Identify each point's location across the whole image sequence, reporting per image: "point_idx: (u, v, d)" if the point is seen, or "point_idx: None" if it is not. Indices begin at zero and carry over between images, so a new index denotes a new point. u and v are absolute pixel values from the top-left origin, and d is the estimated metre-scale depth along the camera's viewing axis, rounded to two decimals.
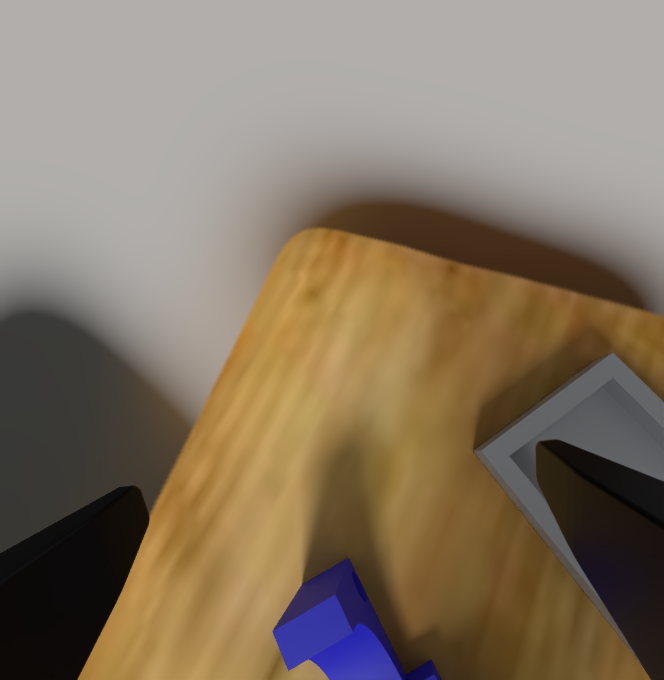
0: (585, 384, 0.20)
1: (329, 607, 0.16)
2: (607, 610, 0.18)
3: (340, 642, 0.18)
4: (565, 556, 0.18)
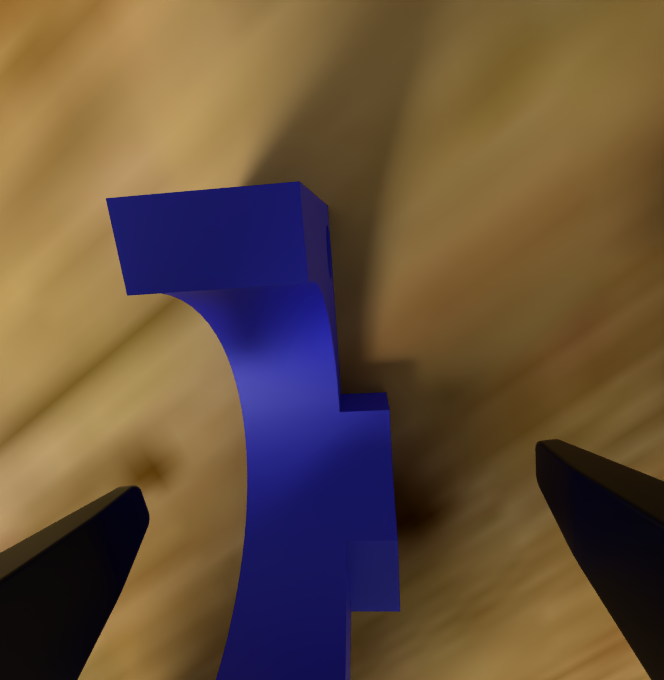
0: None
1: (271, 205, 0.06)
2: None
3: (265, 309, 0.09)
4: None
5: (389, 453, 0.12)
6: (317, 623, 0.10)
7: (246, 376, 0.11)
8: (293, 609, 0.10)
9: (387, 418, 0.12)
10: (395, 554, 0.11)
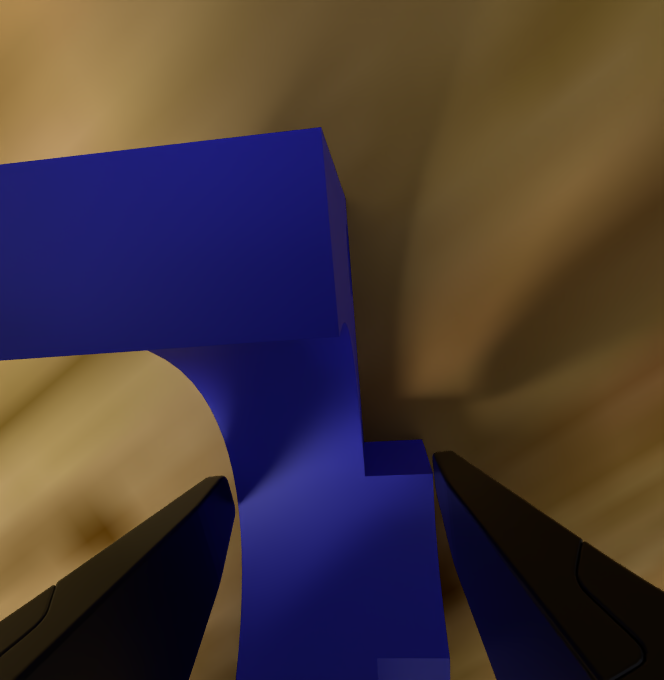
0: None
1: (262, 180, 0.03)
2: None
3: (260, 351, 0.06)
4: None
5: (433, 531, 0.09)
6: None
7: (238, 432, 0.08)
8: None
9: (430, 484, 0.08)
10: (446, 675, 0.08)
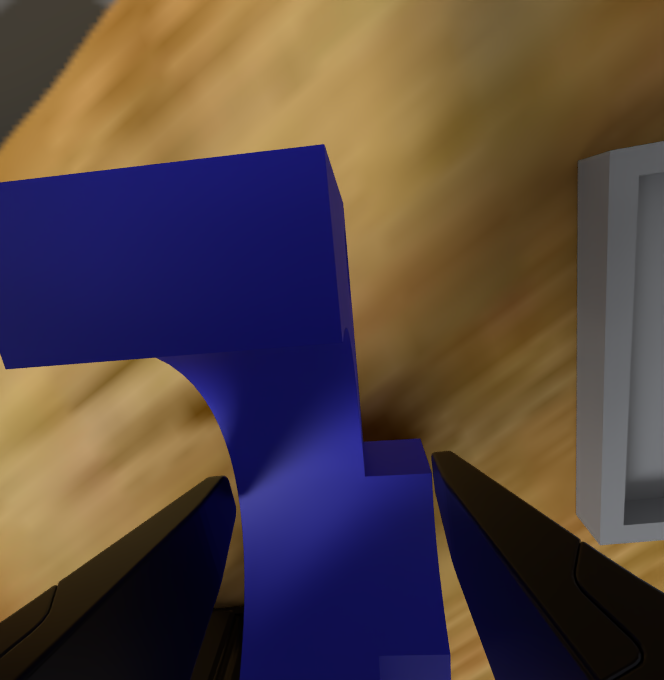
0: None
1: (266, 193, 0.03)
2: (602, 377, 0.16)
3: (262, 355, 0.06)
4: (605, 315, 0.15)
5: (432, 530, 0.09)
6: None
7: (239, 435, 0.08)
8: None
9: (428, 484, 0.09)
10: (446, 672, 0.08)
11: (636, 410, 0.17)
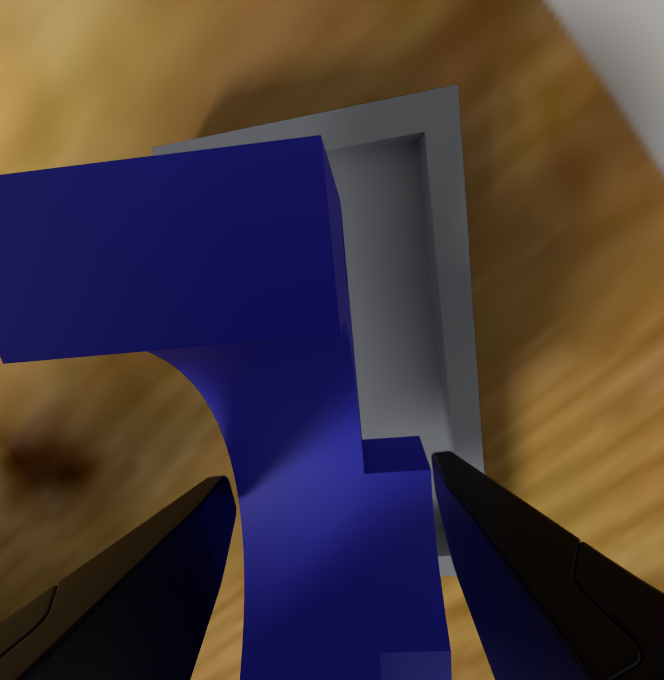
0: (373, 120, 0.11)
1: (264, 185, 0.03)
2: None
3: (261, 351, 0.06)
4: None
5: (432, 526, 0.09)
6: None
7: (238, 432, 0.08)
8: None
9: (428, 480, 0.09)
10: (447, 668, 0.08)
11: None
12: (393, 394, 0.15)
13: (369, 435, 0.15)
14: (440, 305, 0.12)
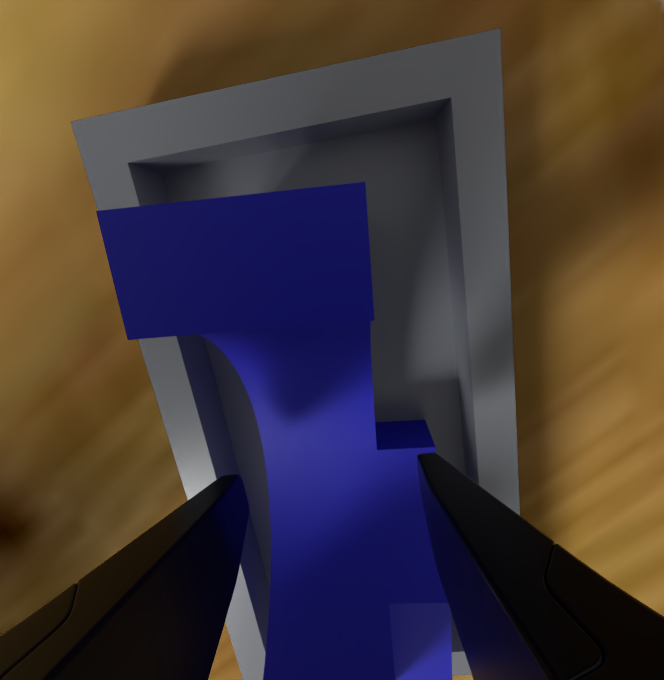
0: (378, 81, 0.08)
1: (324, 215, 0.04)
2: (178, 464, 0.11)
3: (296, 339, 0.07)
4: (151, 376, 0.10)
5: None
6: None
7: (269, 412, 0.10)
8: None
9: None
10: (447, 618, 0.09)
11: None
12: None
13: None
14: (468, 337, 0.09)
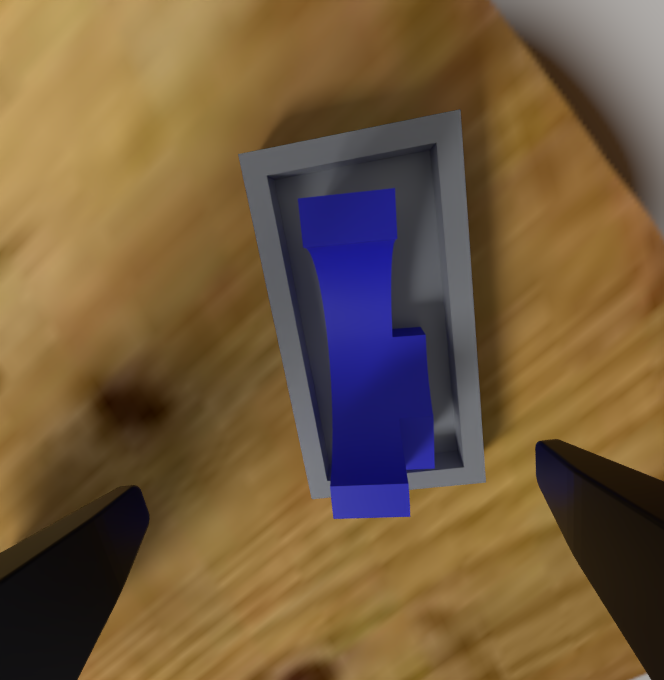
0: (400, 134, 0.15)
1: (380, 199, 0.12)
2: (280, 349, 0.18)
3: (355, 263, 0.15)
4: (269, 295, 0.17)
5: (425, 364, 0.18)
6: (386, 459, 0.16)
7: (332, 313, 0.17)
8: (370, 454, 0.16)
9: (424, 340, 0.17)
10: (431, 426, 0.17)
11: None
12: None
13: None
14: (447, 270, 0.17)
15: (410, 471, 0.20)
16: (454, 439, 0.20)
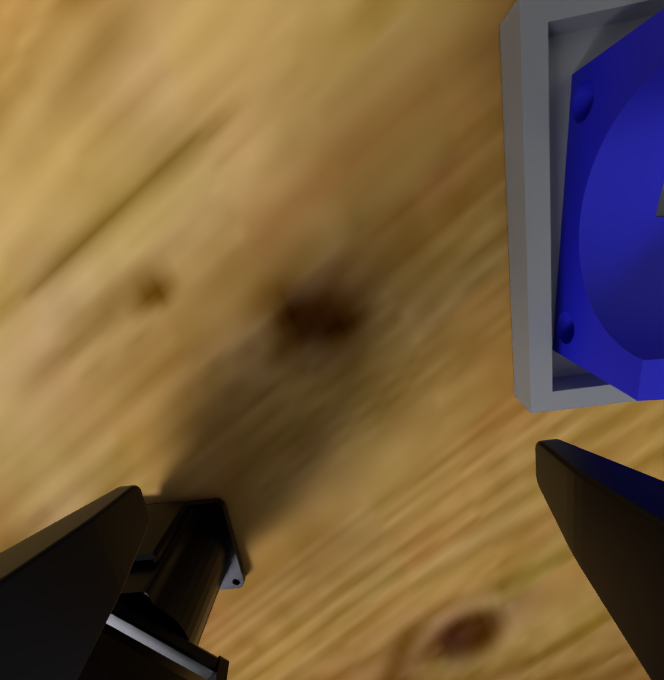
0: None
1: None
2: (524, 235, 0.16)
3: None
4: (524, 169, 0.16)
5: None
6: None
7: (595, 187, 0.15)
8: (658, 335, 0.14)
9: None
10: None
11: None
12: None
13: None
14: None
15: None
16: None
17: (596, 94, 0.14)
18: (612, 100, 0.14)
